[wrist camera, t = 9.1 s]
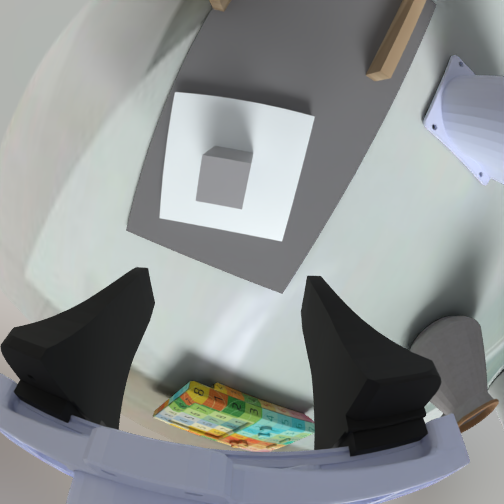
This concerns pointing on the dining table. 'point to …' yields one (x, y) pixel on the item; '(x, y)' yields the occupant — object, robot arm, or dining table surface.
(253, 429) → the puzzle game
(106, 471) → the robot arm
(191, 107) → the cover plate
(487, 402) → the grey faceted twig vase
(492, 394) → the cylinder vase
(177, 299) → the dining table surface
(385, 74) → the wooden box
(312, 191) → the rubber mat
